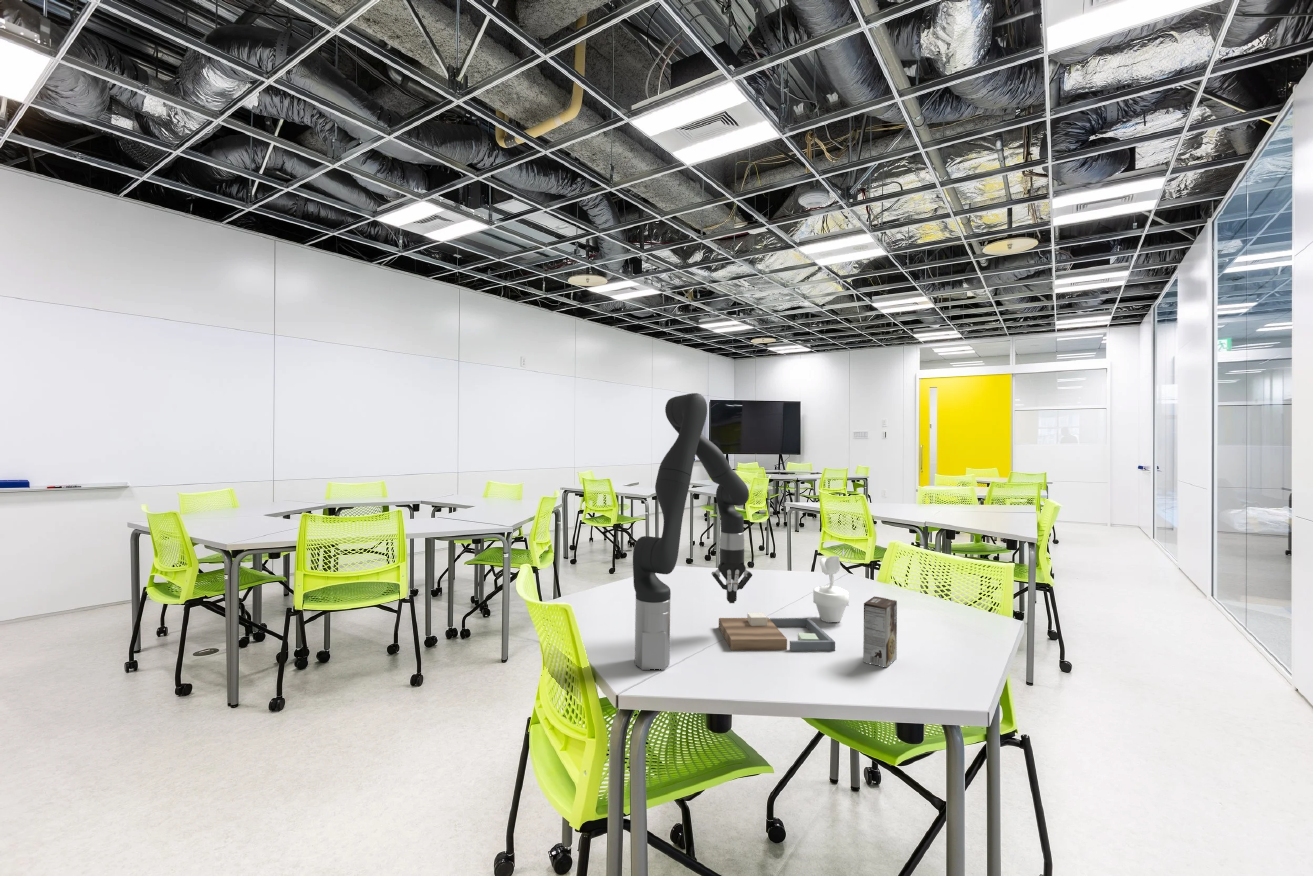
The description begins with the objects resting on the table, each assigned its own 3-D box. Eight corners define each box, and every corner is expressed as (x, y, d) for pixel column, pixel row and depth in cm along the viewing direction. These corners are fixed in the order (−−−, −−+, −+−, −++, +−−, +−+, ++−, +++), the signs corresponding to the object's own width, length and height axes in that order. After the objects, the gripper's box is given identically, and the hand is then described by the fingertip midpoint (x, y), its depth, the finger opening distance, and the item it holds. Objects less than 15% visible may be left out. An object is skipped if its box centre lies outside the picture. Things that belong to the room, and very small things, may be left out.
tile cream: (767, 625, 174) (767, 617, 174) (751, 625, 173) (751, 617, 173) (763, 620, 179) (763, 612, 179) (747, 620, 178) (747, 612, 178)
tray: (835, 650, 162) (835, 641, 162) (790, 651, 161) (791, 642, 161) (808, 625, 184) (808, 617, 184) (769, 625, 183) (769, 618, 183)
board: (786, 649, 162) (787, 639, 162) (731, 650, 161) (731, 639, 161) (768, 627, 182) (768, 617, 182) (718, 627, 181) (718, 618, 181)
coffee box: (873, 653, 160) (874, 595, 160) (897, 659, 156) (898, 600, 156) (862, 662, 153) (862, 602, 153) (886, 668, 149) (887, 607, 149)
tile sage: (801, 638, 165) (801, 647, 165) (818, 639, 164) (818, 648, 164) (798, 633, 170) (797, 641, 170) (814, 633, 169) (814, 642, 169)
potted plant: (853, 626, 184) (854, 548, 184) (817, 625, 184) (818, 548, 184) (841, 614, 197) (842, 542, 197) (808, 613, 197) (808, 541, 197)
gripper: (712, 549, 172) (712, 606, 172) (756, 548, 173) (755, 606, 173) (708, 544, 179) (708, 599, 179) (750, 544, 180) (749, 598, 180)
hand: (731, 602), depth 176 cm, fingers closed
